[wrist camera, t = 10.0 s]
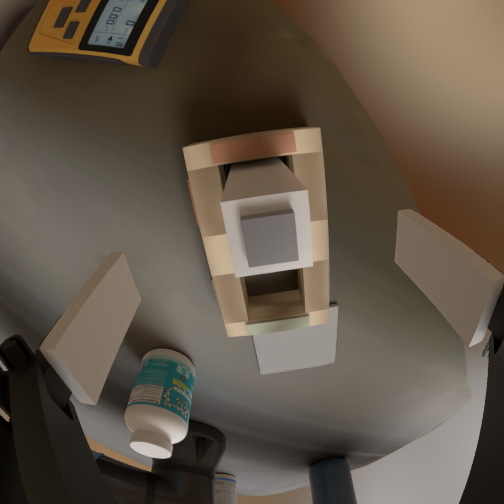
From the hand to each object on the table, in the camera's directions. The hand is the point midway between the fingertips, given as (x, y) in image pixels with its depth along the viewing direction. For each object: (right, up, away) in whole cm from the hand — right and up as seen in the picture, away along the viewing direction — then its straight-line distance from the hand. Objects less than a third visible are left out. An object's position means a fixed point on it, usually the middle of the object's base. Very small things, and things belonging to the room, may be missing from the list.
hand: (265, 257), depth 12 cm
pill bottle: (-12, -15, +22) cm, 29 cm away
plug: (0, +6, +12) cm, 13 cm away
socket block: (+1, +2, +14) cm, 14 cm away
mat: (+5, -11, +20) cm, 23 cm away
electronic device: (-15, +22, +4) cm, 27 cm away
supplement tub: (-10, -63, +46) cm, 79 cm away
